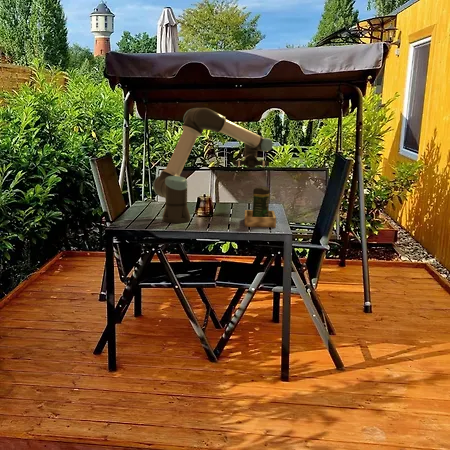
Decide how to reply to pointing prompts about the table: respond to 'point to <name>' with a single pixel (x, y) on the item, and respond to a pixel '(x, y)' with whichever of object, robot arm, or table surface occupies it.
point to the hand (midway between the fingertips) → (251, 164)
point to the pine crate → (259, 220)
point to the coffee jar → (261, 202)
